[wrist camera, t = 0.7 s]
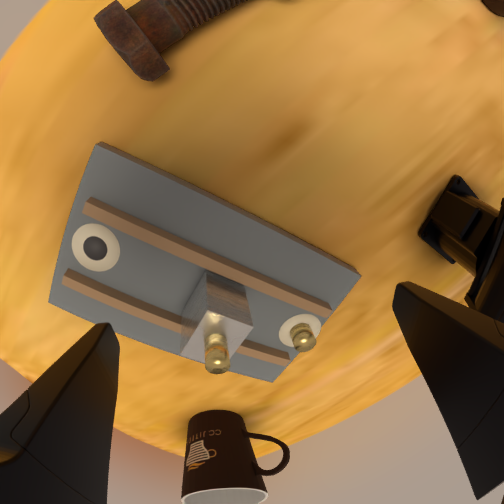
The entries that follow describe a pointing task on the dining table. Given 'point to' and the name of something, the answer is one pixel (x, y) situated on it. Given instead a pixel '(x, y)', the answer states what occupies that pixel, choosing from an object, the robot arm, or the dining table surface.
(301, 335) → the fixed brass pin
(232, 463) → the coffee mug
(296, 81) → the dining table surface
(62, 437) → the robot arm
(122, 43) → the bolt
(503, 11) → the bottle
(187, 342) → the sliding pin block
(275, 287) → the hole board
